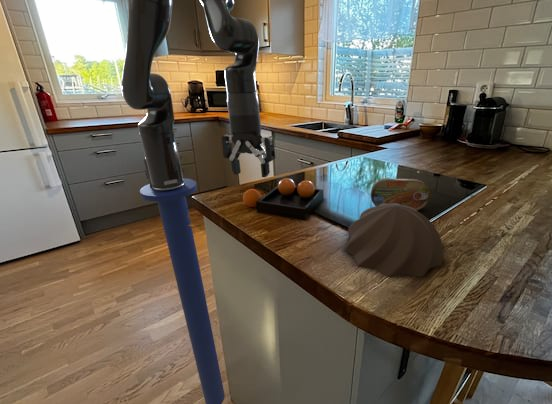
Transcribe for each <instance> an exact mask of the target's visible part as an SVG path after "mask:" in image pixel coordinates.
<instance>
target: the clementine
mask: <svg viewBox="0 0 552 404" xmlns="http://www.w3.org/2000/svg"><path fill="white" fill-rule="evenodd" d="M260 198H262V194H261V192H260V191H259V190H257V189H255V188H250V189H248V190H246V191H245V192H244V193H243V196H242V202H243V203H244V204H245V206H247V207H249V208H257V207H256V201H258V200H259V199H260Z"/></svg>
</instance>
